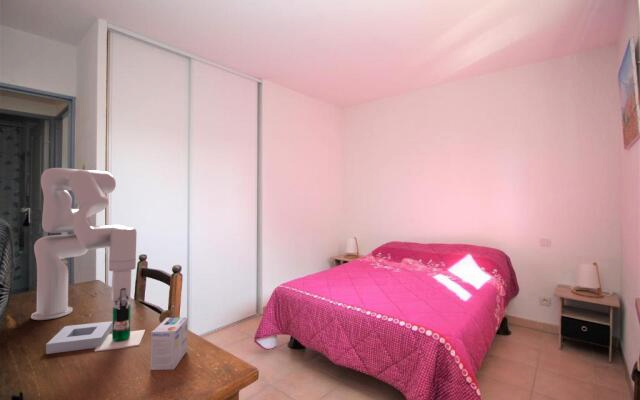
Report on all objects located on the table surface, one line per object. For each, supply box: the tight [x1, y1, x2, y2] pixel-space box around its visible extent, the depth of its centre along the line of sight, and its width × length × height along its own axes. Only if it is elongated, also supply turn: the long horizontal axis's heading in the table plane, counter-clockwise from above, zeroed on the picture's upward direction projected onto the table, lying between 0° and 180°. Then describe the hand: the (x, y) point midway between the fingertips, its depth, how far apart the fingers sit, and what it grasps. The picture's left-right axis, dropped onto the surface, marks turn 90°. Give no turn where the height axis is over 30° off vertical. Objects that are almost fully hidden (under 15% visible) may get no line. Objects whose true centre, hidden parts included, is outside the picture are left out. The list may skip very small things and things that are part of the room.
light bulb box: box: [150, 316, 189, 371], centre depth 91 cm, size 11×7×11 cm, turn 5°
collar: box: [45, 320, 113, 355], centre depth 103 cm, size 14×14×3 cm
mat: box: [93, 329, 146, 353], centre depth 103 cm, size 12×12×1 cm
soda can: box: [111, 300, 132, 342], centre depth 103 cm, size 5×5×12 cm
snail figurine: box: [158, 301, 177, 324], centre depth 104 cm, size 5×6×12 cm
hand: (121, 315), depth 103 cm, fingers open, 9 cm apart
